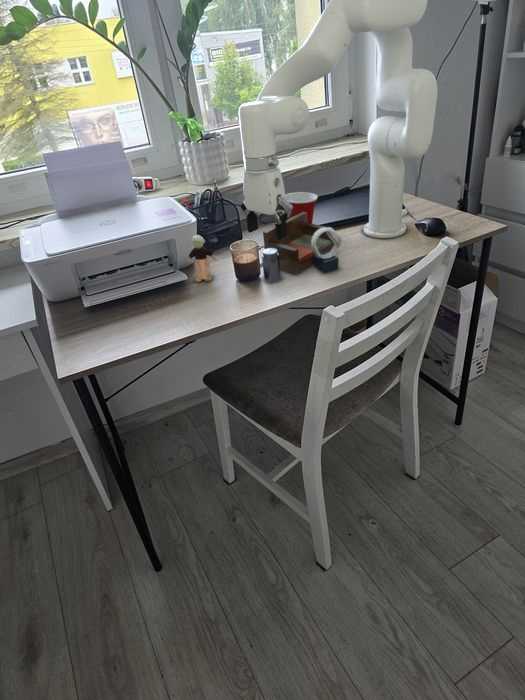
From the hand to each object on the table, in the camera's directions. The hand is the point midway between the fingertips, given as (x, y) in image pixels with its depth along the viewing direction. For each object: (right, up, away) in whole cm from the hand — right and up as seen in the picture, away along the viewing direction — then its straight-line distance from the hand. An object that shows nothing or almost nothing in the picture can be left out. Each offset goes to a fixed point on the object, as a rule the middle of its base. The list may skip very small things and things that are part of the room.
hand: (267, 234), depth 115 cm
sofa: (+10, -3, +16) cm, 19 cm away
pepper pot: (+2, -10, +7) cm, 13 cm away
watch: (+16, -7, +10) cm, 20 cm away
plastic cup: (+11, +8, +31) cm, 34 cm away
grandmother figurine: (-17, -10, +12) cm, 23 cm away
